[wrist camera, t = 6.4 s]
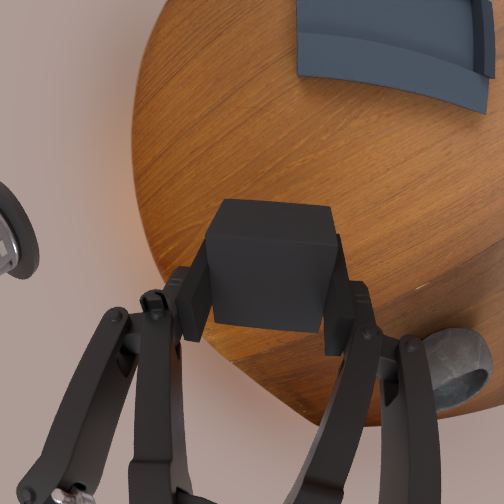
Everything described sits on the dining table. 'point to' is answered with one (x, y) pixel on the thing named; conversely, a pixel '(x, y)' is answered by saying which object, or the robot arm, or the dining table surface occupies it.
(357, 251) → the dining table surface
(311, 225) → the black block
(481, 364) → the bowl
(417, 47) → the dock pad
